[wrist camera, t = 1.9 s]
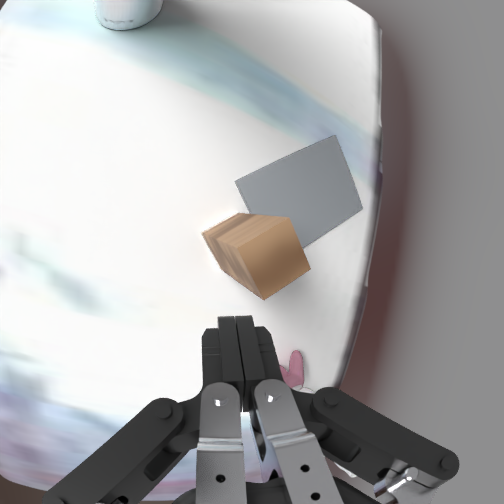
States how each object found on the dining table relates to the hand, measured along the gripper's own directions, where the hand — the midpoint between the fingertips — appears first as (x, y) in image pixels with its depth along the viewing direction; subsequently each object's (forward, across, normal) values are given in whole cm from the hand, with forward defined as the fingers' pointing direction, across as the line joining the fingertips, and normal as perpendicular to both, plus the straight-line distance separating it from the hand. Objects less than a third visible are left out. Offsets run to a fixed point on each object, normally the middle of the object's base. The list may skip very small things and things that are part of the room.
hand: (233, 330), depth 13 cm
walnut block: (+22, -2, +7) cm, 23 cm away
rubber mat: (+27, -12, +2) cm, 30 cm away
